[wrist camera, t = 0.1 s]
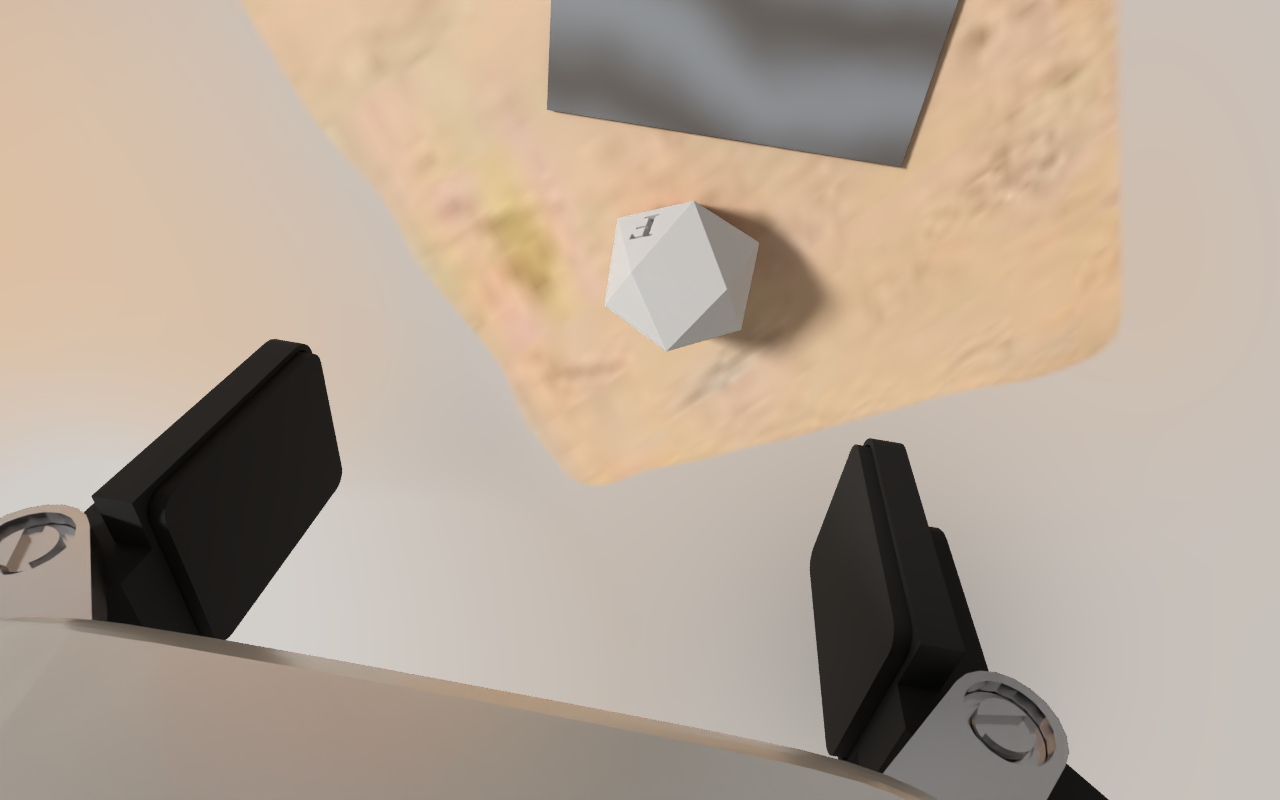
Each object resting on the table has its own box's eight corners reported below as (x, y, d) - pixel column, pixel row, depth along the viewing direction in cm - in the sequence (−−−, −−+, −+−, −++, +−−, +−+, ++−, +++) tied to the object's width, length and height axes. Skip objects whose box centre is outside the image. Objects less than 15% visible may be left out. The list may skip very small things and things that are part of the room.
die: (775, 195, 41) (691, 170, 33) (785, 339, 41) (706, 349, 34) (661, 219, 45) (564, 203, 38) (672, 348, 46) (579, 358, 38)
